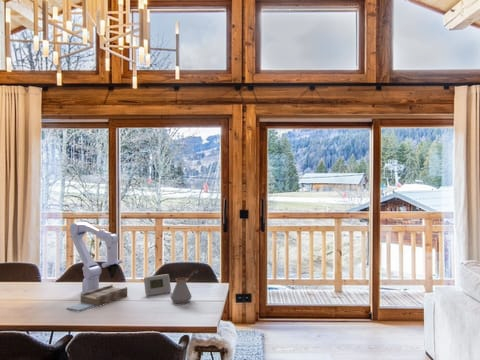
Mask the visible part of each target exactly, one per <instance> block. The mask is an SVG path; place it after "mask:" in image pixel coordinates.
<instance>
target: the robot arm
mask: <svg viewBox="0 0 480 360" xmlns="http://www.w3.org/2000/svg"><path fill="white" fill-rule="evenodd" d="M68 231H69V232H70V233H69V234H70V235H71V241H72V242H73V244H74V246H75V249H76V250H77V253H78V255H79V258H80V260H81V261H82V264H83V266H82V269H81V270H82V272H83V273H82V274H83V277H84V278H83V280H82V284H81V285H82V286H81V287H82V291H81V292H80V294H82V293H85V292H88V291H92V290H95V289H98V288H100V287H99V286H100V281H99V280H100V277H101V276H100V275H101V274H102V271H103V270H102V268H106V270H107V271H108V273H109V277H110V278H111V279H113V278H115V277H116V274H117V273H116V272H117V270H118V268H119V264H123V259H118V242H119V240H120V238H119V237H120V236H119V235H118V234H116V233H112V232H110V231H107V230H106V229H105V228H100V229H98V228H97V227H95V226H92V225H91V224H90V223H89V222H86V221H82V222H76V223H75V222H73V223H71V224H70V227H69V229H68ZM86 233H90V234H92V235H95V236H96V238H97V239H99V240H101V241H104V243H105V245H106V261H105V262H104V263H101V266H100V265H99V264H98V262H97V261H94V260H93V258H92V256H91V254H90V252H89V250H88V248H87V246H86V243H85V241H84V239H83V238H84V236H85V235H86Z"/></svg>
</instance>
